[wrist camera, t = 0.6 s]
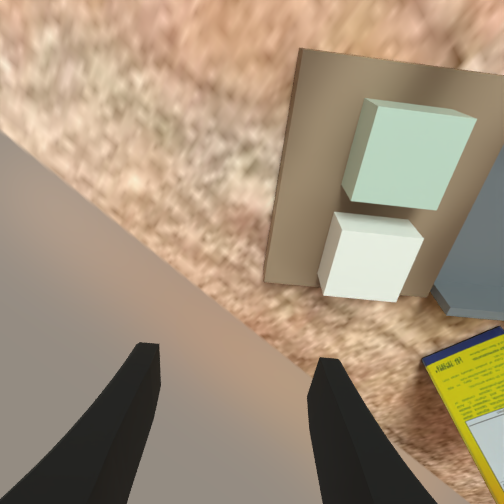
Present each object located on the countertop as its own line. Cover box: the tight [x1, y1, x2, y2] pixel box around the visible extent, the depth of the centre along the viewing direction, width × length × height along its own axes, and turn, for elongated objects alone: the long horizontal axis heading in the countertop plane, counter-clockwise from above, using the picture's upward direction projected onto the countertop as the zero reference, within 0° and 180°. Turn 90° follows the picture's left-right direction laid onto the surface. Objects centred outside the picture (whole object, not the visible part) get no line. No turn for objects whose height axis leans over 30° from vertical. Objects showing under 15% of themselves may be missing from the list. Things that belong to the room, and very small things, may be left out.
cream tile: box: [317, 212, 424, 302], centre depth 18 cm, size 4×4×2 cm
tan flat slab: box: [264, 48, 504, 298], centre depth 18 cm, size 10×12×2 cm
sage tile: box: [341, 98, 477, 210], centre depth 15 cm, size 4×4×2 cm
